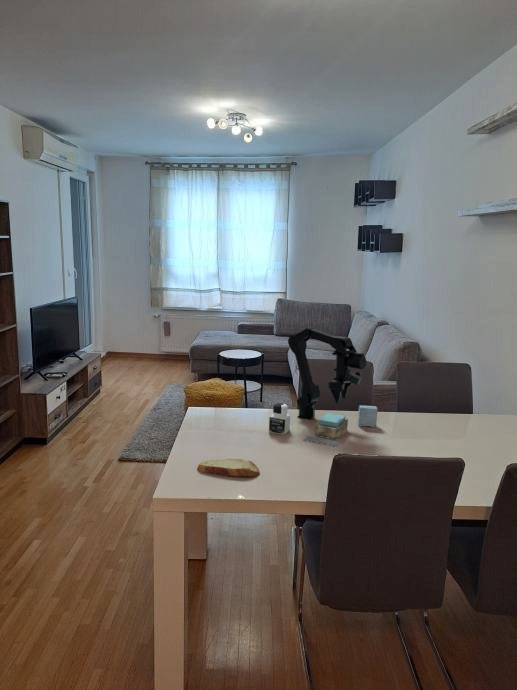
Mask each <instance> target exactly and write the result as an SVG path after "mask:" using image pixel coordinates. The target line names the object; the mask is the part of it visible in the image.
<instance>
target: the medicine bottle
mask: <svg viewBox="0 0 517 690" xmlns="http://www.w3.org/2000/svg"><path fill="white" fill-rule="evenodd" d="M288 409H289V408H288V405H287V404H285V403H283V402H282V403H281V402H280V403H279V402H278V403H274V404H273V409H272V414H271V415H270V416H269V419H268V420H269V421H268V433H271V434H277V435H286V434H287V433H288V432H289V431H290V430H291V429H290V427H291V414H289V413H288Z"/></svg>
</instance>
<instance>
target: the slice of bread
mask: <svg viewBox="0 0 517 690" xmlns="http://www.w3.org/2000/svg"><path fill="white" fill-rule="evenodd" d="M196 471H197V472H200V473H204V474H209V475H210V474H211V475H217V476H225V477H234V478H235V477H239V478H245V477H246V478H253V477H257V476H260V475H261V474H260V469H259V467H258V466H257V464H255V463H254V462H253V461H251V460H249V459H248V460H246V459H241V458H224V459H223V458H221V459H211V460H206V461H202V462H200V463H199V464H198V465H197V468H196Z"/></svg>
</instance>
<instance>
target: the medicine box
mask: <svg viewBox="0 0 517 690" xmlns="http://www.w3.org/2000/svg"><path fill="white" fill-rule="evenodd" d="M377 420H378V407H377V406H376V405H375V406H373V405H358V417H357V425H358V427H363V426H371V427H370V428H377Z"/></svg>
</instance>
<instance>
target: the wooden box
mask: <svg viewBox="0 0 517 690" xmlns="http://www.w3.org/2000/svg"><path fill="white" fill-rule="evenodd" d="M348 422H349V419H348V418H345V421H344V422H343V423H342V424H341V425H340V426H339V427H338V428H337V427H331V426H326V425H320V424H319V420H318V421H317V422H315V424H314V425H315V426H314V427H315V429H314V436H315V435H318V436H317V437H320V436H323V437H322V438H326V437H329V438H328V439H331V438H333V439H332V440H336V439H338V440H339V439H340V438H341V437H342V436H343V435H344V434H345V433H346V432H347V431H348Z"/></svg>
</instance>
